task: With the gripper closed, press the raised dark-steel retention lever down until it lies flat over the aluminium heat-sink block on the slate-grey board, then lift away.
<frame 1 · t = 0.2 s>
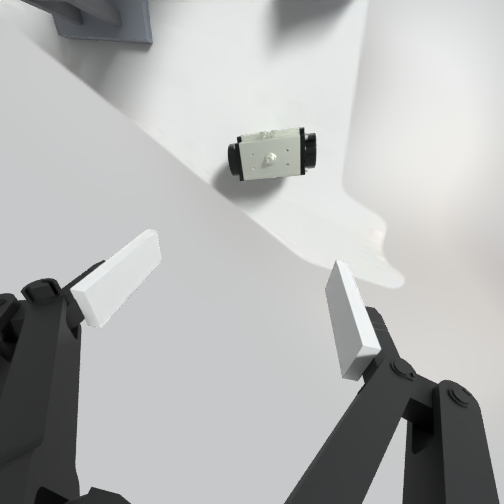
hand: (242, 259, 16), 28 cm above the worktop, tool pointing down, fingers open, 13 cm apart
pneumatic valve: (275, 146, 37), on the worktop
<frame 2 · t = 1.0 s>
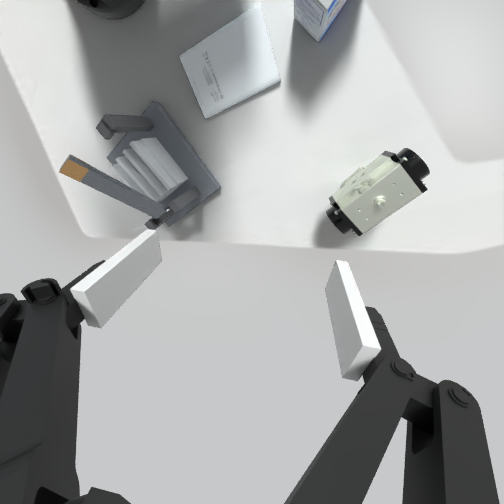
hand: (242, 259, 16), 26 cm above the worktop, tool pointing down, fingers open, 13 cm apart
lever: (125, 194, 29), point 13 cm above the worktop, hinge at 35.0°
heatsink base: (166, 171, 40), on the worktop
external hard drive: (231, 69, 31), on the worktop
pneumatic valve: (355, 179, 35), on the worktop
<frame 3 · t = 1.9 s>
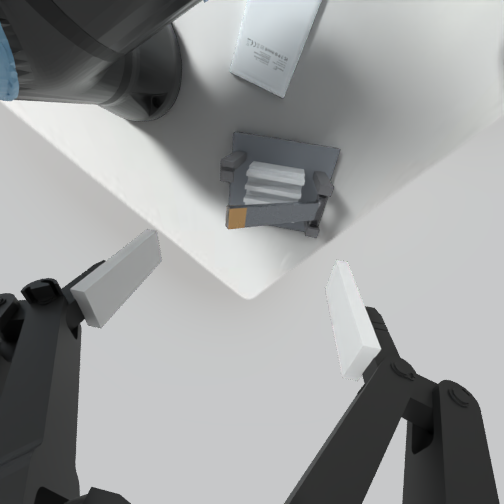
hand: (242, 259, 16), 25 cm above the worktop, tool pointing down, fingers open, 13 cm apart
lever: (279, 213, 26), point 13 cm above the worktop, hinge at 35.0°
heatsink base: (277, 185, 37), on the worktop
external hard drive: (276, 29, 27), on the worktop
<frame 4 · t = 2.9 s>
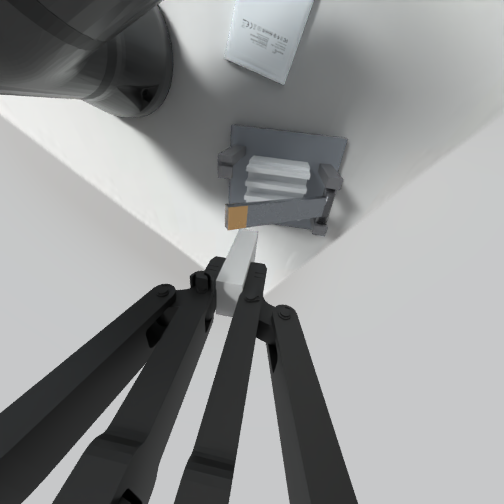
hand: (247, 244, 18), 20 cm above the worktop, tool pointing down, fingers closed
lever: (284, 210, 24), point 13 cm above the worktop, hinge at 35.0°
heatsink base: (280, 180, 34), on the worktop
external hard drive: (274, 8, 25), on the worktop
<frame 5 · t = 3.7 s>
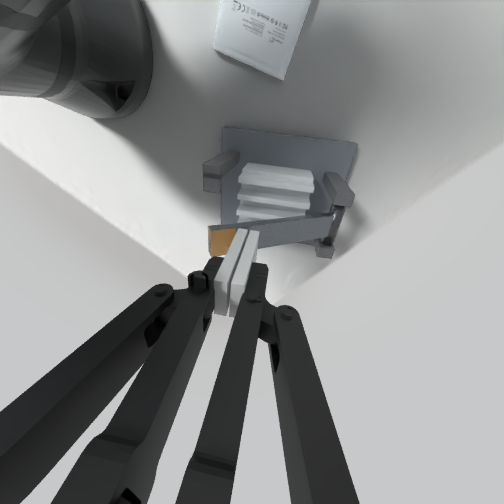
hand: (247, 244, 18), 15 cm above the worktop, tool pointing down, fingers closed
lever: (282, 231, 20), point 12 cm above the worktop, hinge at 33.2°, touching gripper
heatsink base: (279, 190, 30), on the worktop
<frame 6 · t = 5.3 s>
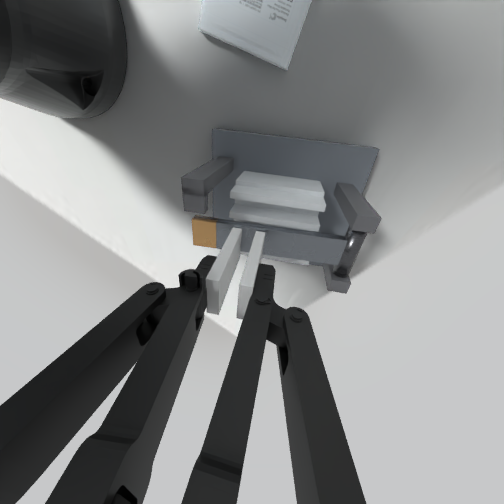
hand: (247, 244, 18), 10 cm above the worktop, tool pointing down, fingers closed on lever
lever: (274, 241, 18), point 9 cm above the worktop, hinge at 2.6°, touching gripper
heatsink base: (281, 203, 25), on the worktop
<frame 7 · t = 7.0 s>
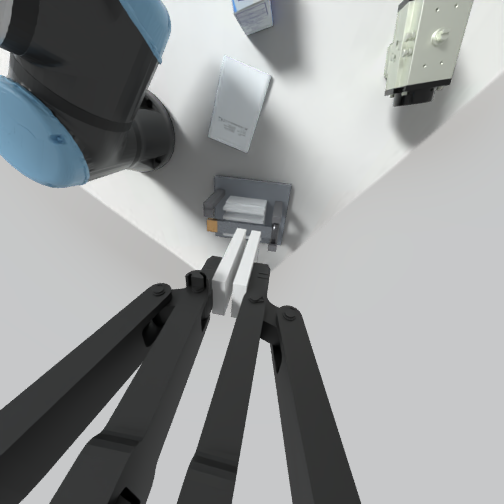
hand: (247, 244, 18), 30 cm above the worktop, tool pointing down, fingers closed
lever: (242, 228, 41), point 9 cm above the worktop, hinge at 2.6°
heatsink base: (250, 210, 49), on the worktop
external hard drive: (238, 108, 39), on the worktop
pneumatic valve: (393, 60, 32), on the worktop
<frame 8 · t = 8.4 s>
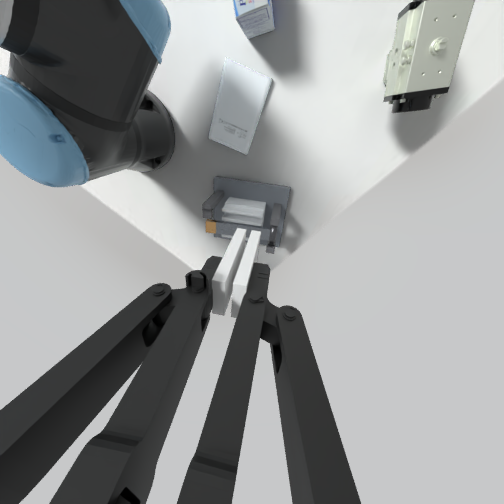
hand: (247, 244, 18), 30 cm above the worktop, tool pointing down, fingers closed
lever: (241, 230, 41), point 9 cm above the worktop, hinge at 2.6°
heatsink base: (249, 212, 49), on the worktop
external hard drive: (239, 110, 39), on the worktop
pneumatic valve: (393, 67, 33), on the worktop
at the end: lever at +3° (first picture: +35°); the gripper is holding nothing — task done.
